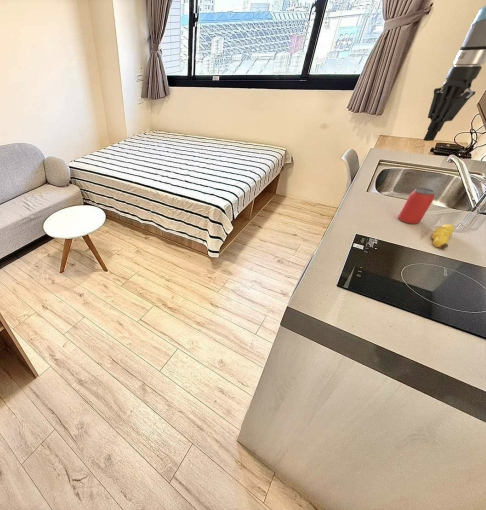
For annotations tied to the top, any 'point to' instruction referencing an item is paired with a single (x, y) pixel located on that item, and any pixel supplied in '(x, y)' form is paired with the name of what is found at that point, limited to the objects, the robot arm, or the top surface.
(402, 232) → the top surface
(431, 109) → the robot arm
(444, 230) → the yellow lumpy toy
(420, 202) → the beer can
